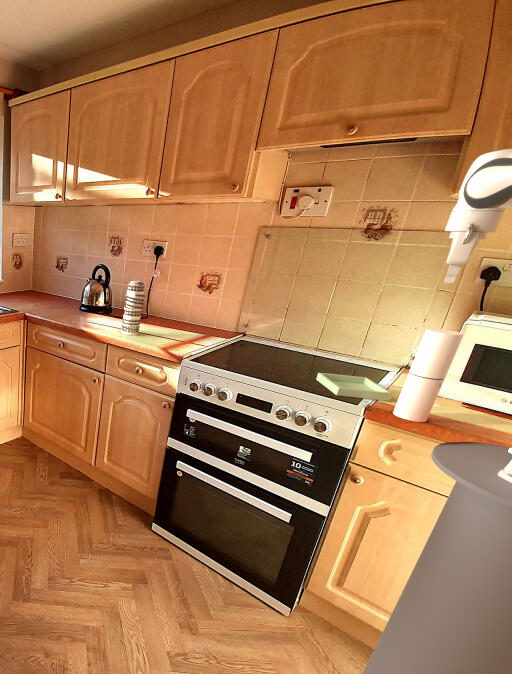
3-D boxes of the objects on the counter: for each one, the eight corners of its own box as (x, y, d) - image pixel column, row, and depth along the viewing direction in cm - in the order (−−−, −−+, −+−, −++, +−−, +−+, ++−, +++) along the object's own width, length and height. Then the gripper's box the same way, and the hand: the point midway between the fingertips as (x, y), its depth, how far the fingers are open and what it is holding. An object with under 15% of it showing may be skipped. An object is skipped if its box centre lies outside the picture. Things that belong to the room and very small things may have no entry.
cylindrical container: (386, 411, 124) (418, 328, 115) (407, 411, 125) (441, 328, 116) (411, 422, 117) (447, 334, 108) (433, 421, 118) (471, 334, 109)
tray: (390, 401, 132) (393, 393, 131) (336, 395, 135) (339, 387, 134) (363, 384, 146) (366, 377, 145) (316, 379, 149) (318, 372, 148)
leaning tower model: (140, 332, 210) (148, 280, 201) (138, 336, 202) (146, 282, 193) (121, 329, 213) (128, 279, 204) (118, 333, 205) (125, 281, 196)
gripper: (492, 223, 95) (466, 286, 100) (489, 225, 108) (466, 280, 113) (453, 223, 99) (430, 283, 104) (454, 224, 113) (434, 277, 117)
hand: (449, 281), depth 109 cm, fingers open, 8 cm apart
